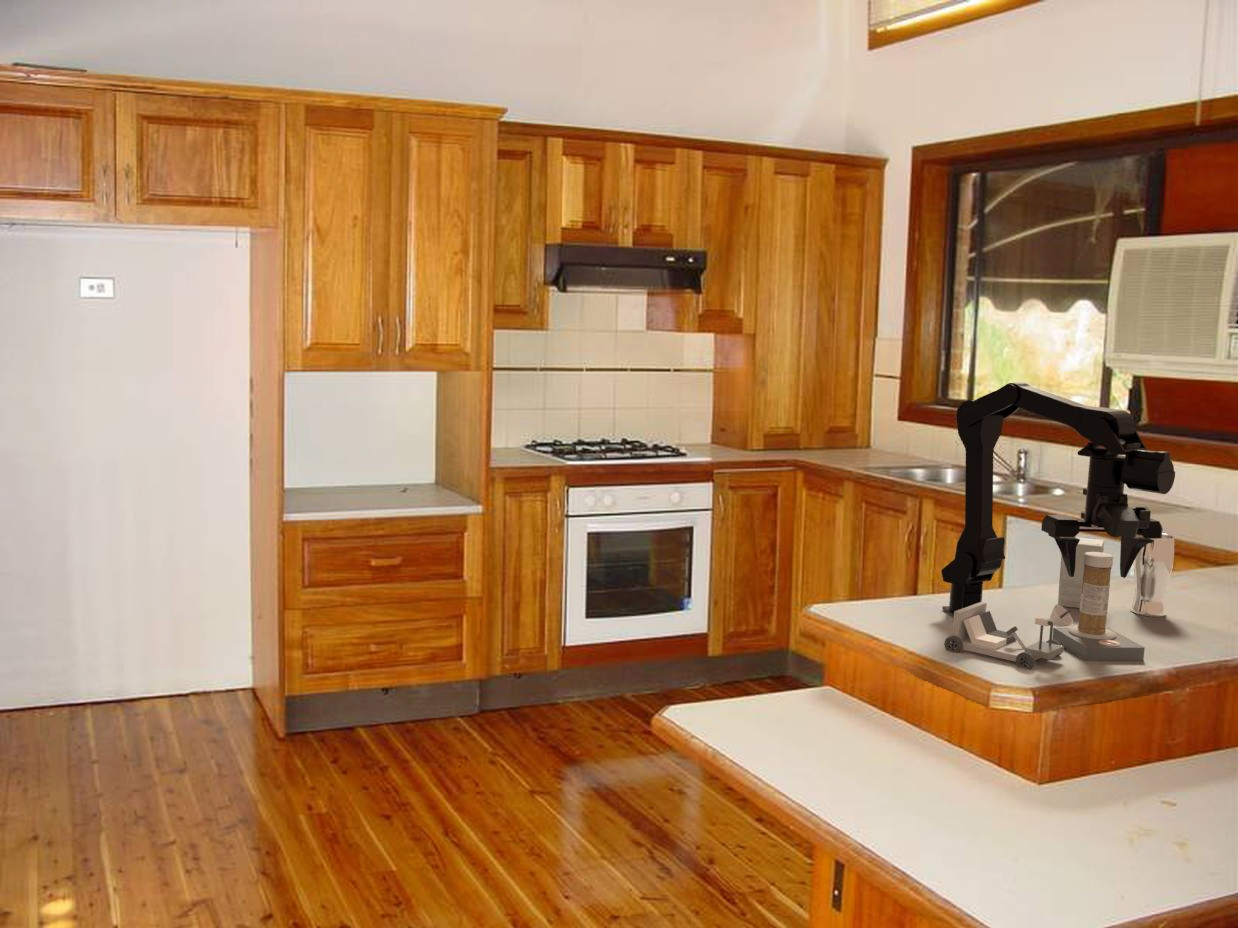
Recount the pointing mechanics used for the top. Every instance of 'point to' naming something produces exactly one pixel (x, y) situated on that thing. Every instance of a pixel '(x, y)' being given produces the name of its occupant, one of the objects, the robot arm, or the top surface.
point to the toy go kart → (1004, 636)
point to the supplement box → (1076, 573)
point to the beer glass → (1153, 576)
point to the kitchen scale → (1099, 645)
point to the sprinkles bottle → (1095, 592)
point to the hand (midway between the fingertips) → (1097, 576)
